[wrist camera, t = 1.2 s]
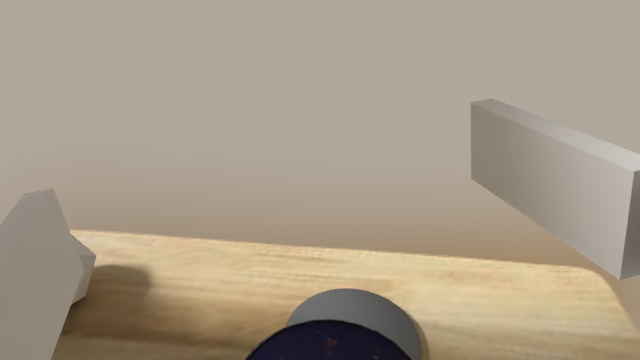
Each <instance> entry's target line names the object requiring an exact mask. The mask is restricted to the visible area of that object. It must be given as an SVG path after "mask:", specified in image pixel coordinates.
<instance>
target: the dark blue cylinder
mask: <svg viewBox="0 0 640 360" xmlns="http://www.w3.org/2000/svg"><path fill="white" fill-rule="evenodd" d="M245 360H413V359H412V358H411V357H410V356H409V354H408V353H407V352H406V351H405V350H404V349H403V348H402V347H400V346H399V345H398V344H397V343H395V342H394V341H393V340H392V339H390V338H388V337H387V336H385V335H383V334H382V333H380V332H378V331H376V330H374V329H372V328H369V327H367V326H364V325H361V324H358V323H354V322H350V321H344V320H335V319H319V320H310V321H305V322H299V323H296V324H293V325H290V326H287V327H285V328H283V329H281V330H279V331H277V332H275V333H273V334H272V335H270V336H269V337H267V338H266V339H264V340H263V341H262V342H261V343H260V344H258V345H257V346H256V347H255V348H254V349H253V350H252V351H251V353H250V354H249V355H248V356H247V357H246V359H245Z"/></svg>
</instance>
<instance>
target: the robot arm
mask: <svg viewBox="0 0 640 360" xmlns="http://www.w3.org/2000/svg"><path fill="white" fill-rule="evenodd" d="M471 175H472V176H471V178H472V179H473V180H474V181H476V182H477V183H479V184H480V185H482V186H483V187H485V188H486V189H488V190H489V191H490V192H492V193H493V194H495V195H496V196H498V197H499V198H501V199H502V200H504V201H505V202H506V203H508V204H509V205H511V206H513V207H514V208H515V209H517V210H518V211H520V212H521V213H523V214H524V215H525V216H527V217H528V218H530V219H531V220H533V221H535V222H536V223H537V224H539V225H540V226H541V227H543V228H545V229H546V230H547V231H549V232H550V233H552V234H553V235H555V236H556V237H558V238H559V239H560V240H562V241H563V242H565V243H566V244H568V245H569V246H571V247H572V248H573V249H575V250H576V251H578V252H579V253H581V254H582V255H584V256H585V257H587V258H588V259H590V260H591V261H592V262H594V263H595V264H597V265H598V266H600V267H601V268H603V269H604V270H606V271H607V272H609V273H610V274H611V275H613V276H614V277H616V278H617V279H619V280H622V279H626V278H629V277H632V276H636V275H639V274H640V154H637V153H635V152H632V151H629V150H627V149H624V148H621V147H619V146H616V145H614V144H611V143H608V142H605V141H603V140H600V139H598V138H595V137H592V136H590V135H587V134H584V133H581V132H579V131H576V130H573V129H571V128H568V127H566V126H563V125H560V124H558V123H555V122H552V121H550V120H547V119H544V118H541V117H539V116H537V115H534V114H531V113H529V112H526V111H523V110H521V109H518V108H515V107H513V106H510V105H507V104H505V103H502V102H499V101H497V100H494V99H487V100H482V101H478V102H473V103H471ZM83 271H84V268H83V265H82V262H81V260H80V257H79V255H78V252H77V249H76V247H75V244H74V242H73V239H72V236H71V234H70V231H69V228H68V226H67V223H66V221H65V218H64V216H63V213H62V210H61V208H60V205H59V202H58V200H57V197H56V195H55V192H54V190H53V189H48V190H43V191H38V192H33V193H29V194H24V196H23V197H22V198H21V200H20V201H19V202H18V203H17V205H16V206H15V207H14V209H13V210H12V211H11V212H10V214H9V215H8V216H7V217H6V219H5V220H4V221H3V223H2V224H1V225H0V360H51V358H52V355H53V352H54V350H55V347H56V344H57V342H58V339H59V336H60V333H61V331H62V328H63V325H64V322H65V320H66V317H67V314H68V312H69V309H70V306H71V303H72V301H73V298H74V295H75V293H76V290H77V287H78V284H79V282H80V279H81V276H82V274H83Z"/></svg>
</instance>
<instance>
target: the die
mask: <svg viewBox="0 0 640 360" xmlns="http://www.w3.org/2000/svg"><path fill="white" fill-rule="evenodd" d="M71 236H72V239H73V242H74V244H75V247H76V249H77V252H78V255H79V257H80V260H81V262H82V265H83V268H84V271H83V274H82V276H81V279H80V282H79V284H78V287H77V290H76V293H75V295H74V298H73V301H72V303H71V304H73V303H75V302H76V301H78V300H80V299H81V298H83V297H85V296H86V294H87V290H88V286H89V282H90V278H91V274H92V270H93V267H94V263H95V259H96V255H95V254H94V253H93V252H92V251H91V250H89V249H88V248H87V247H86V246H85V245H83V244H82V243H81V242H80V241H79V240H77V239H76V238H75V237H74V236H73V235H71Z"/></svg>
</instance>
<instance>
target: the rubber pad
mask: <svg viewBox="0 0 640 360" xmlns="http://www.w3.org/2000/svg"><path fill="white" fill-rule="evenodd" d="M319 319H335V320H344V321H350V322H354V323H358V324H361V325H364V326H367V327H369V328H372V329H374V330H376V331H378V332H380V333H382V334H383V335H385V336H387V337H388V338H390V339H392V340H393V341H394V342H395V343H397V344H398V345H399V346H400V347H402V348H403V349H404V350H405V351H406V352H407V353H408V354H409V356H410V357H411V358H412V359H413V360H419V359H420V351H421V349H420V340H419V336H418V333H417V330H416V328H415V326H414V324H413V322H412V321H411V320H410V318H409V317H408V316H407V315H406V314H405V312H404V311H403V310H402V309H400V308H399V307H398V306H397V305H395V304H394V303H393V302H391V301H389V300H388V299H386V298H384V297H382V296H380V295H377V294H374V293H371V292H368V291H364V290H358V289H335V290H329V291H325V292H322V293H319V294H317V295H314V296H312V297H311V298H309V299H307V300H306V301H304V302H303V303H302V304H301V305H300V306H299V307H297V309H296V310H295V311H294V312H293V314H292V315H291V317H290V319H289V321H288V323H287V326H290V325H293V324H296V323H299V322H305V321H310V320H319ZM287 326H286V327H287Z"/></svg>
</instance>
